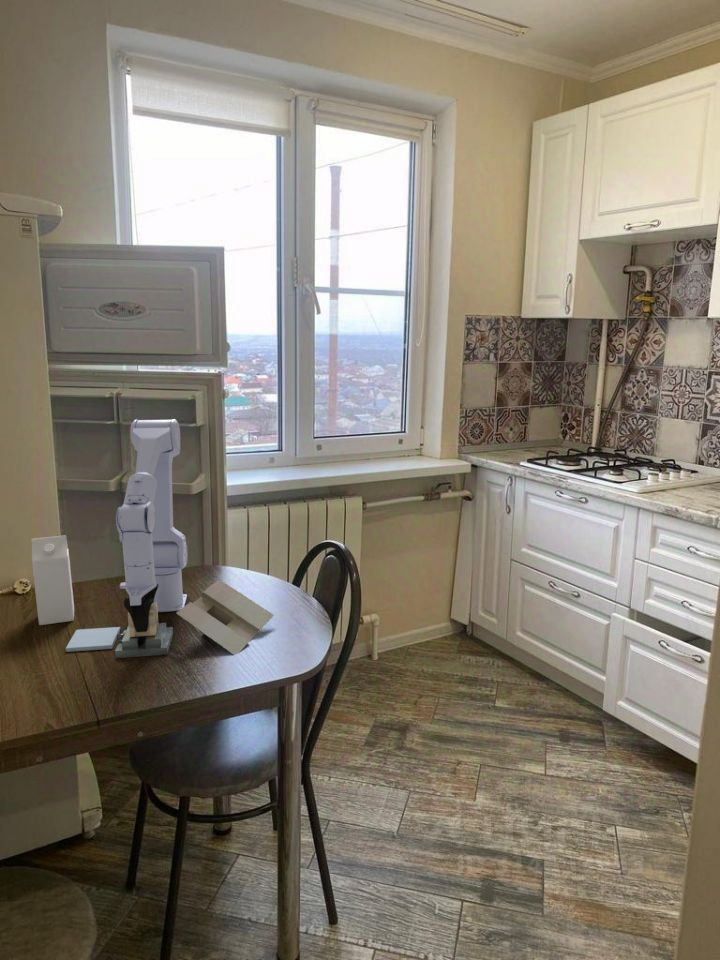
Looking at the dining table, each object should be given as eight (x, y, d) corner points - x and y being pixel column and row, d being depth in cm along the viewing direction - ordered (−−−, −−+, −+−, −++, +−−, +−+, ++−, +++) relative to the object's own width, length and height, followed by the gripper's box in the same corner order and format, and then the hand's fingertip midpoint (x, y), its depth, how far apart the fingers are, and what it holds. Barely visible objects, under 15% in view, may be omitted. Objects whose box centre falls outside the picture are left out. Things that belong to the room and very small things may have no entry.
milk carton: (41, 614, 161) (32, 534, 157) (74, 609, 163) (66, 531, 159) (39, 626, 154) (29, 543, 150) (73, 621, 157) (65, 539, 153)
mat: (76, 633, 151) (76, 629, 150) (120, 630, 152) (120, 626, 152) (66, 651, 142) (65, 648, 142) (112, 648, 143) (111, 645, 143)
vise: (122, 636, 149) (120, 608, 147) (173, 633, 150) (171, 605, 149) (113, 658, 139) (110, 627, 138) (167, 654, 140) (165, 624, 139)
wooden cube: (133, 626, 146) (131, 604, 145) (158, 625, 147) (156, 602, 146) (129, 636, 141) (127, 613, 140) (155, 635, 142) (153, 612, 141)
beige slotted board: (257, 635, 158) (209, 589, 159) (276, 614, 154) (227, 567, 155) (216, 677, 144) (164, 627, 145) (235, 656, 140) (181, 604, 141)
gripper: (124, 552, 147) (129, 612, 150) (111, 575, 133) (116, 642, 136) (159, 550, 148) (163, 610, 151) (149, 573, 134) (154, 639, 137)
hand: (143, 625), depth 144 cm, fingers closed on wooden cube, 5 cm apart
